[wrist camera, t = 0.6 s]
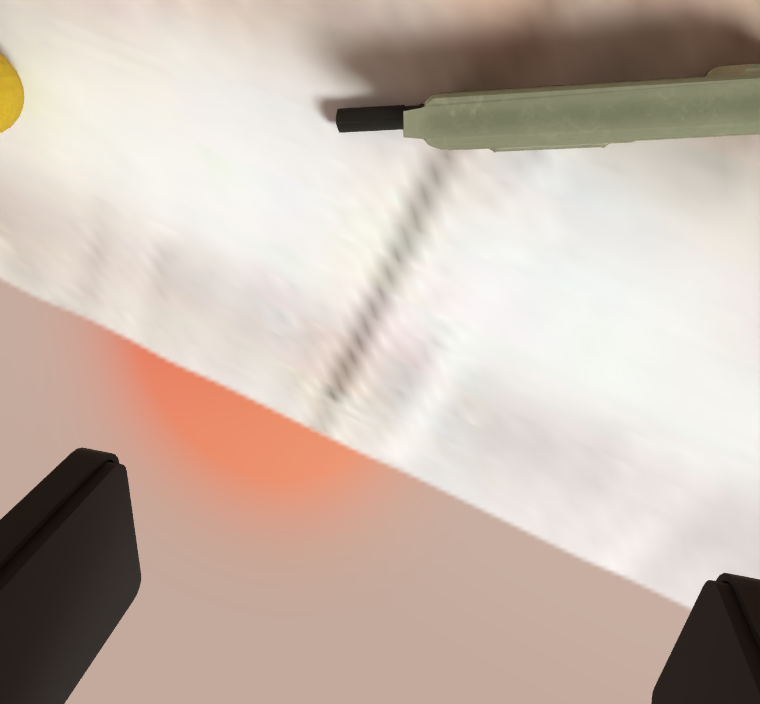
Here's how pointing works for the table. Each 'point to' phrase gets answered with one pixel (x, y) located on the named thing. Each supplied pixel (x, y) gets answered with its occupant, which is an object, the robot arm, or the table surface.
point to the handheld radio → (576, 113)
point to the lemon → (9, 94)
